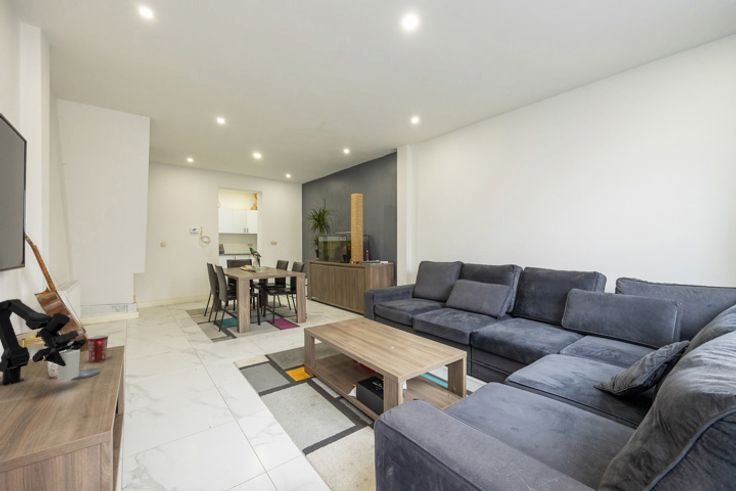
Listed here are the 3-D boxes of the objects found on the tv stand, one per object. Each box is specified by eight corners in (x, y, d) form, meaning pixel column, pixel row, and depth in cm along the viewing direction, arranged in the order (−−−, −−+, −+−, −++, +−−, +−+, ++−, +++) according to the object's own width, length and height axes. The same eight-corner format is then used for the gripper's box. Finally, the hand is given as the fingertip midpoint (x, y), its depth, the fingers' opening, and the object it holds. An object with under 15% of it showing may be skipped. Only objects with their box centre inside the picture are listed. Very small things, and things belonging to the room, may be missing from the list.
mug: (86, 359, 175) (87, 336, 175) (106, 356, 181) (107, 333, 182) (87, 365, 166) (88, 341, 166) (109, 362, 172) (110, 337, 173)
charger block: (57, 379, 138) (58, 353, 139) (69, 375, 143) (70, 349, 144) (66, 380, 138) (68, 353, 138) (78, 376, 143) (79, 350, 143)
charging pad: (65, 376, 151) (65, 374, 151) (92, 369, 162) (92, 366, 162) (77, 380, 147) (77, 378, 147) (104, 372, 157) (104, 370, 157)
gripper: (39, 331, 132) (59, 359, 131) (84, 321, 151) (102, 345, 149) (22, 348, 133) (42, 376, 131) (70, 336, 152) (88, 361, 150)
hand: (71, 363), depth 140 cm, fingers closed on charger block, 5 cm apart
